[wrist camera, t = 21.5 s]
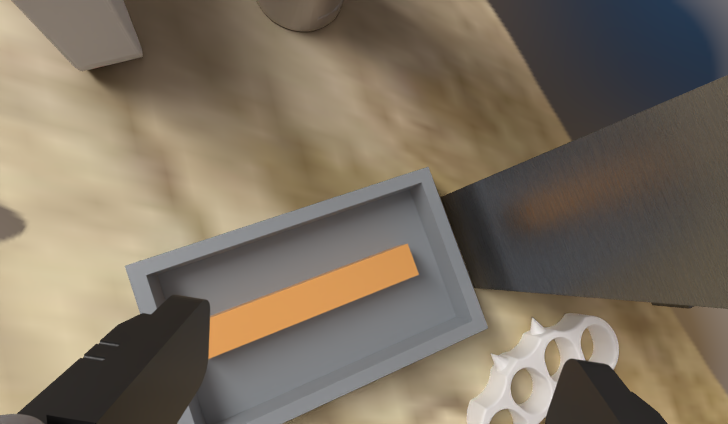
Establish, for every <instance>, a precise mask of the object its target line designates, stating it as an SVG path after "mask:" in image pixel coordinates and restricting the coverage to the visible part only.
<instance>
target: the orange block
mask: <svg viewBox="0 0 728 424" xmlns="http://www.w3.org/2000/svg"><path fill="white" fill-rule="evenodd" d="M417 275H419V273H418V270H417V268H416V265H415V262H414V259H413V257H412V254H411V251H410V248H409V246H408V244H403V245H398V246H395V247H393V248H390V249H387V250H385V251H382V252H379V253H377V254H374V255H371V256H369V257H366V258H363V259H361V260H358V261H355V262H353V263H350V264H347V265H345V266H342V267H339V268H337V269H334V270H331V271H329V272H326V273H323V274H321V275H318V276H315V277H313V278H310V279H307V280H305V281H302V282H299V283H297V284H294V285H291V286H289V287H286V288H283V289H281V290H278V291H275V292H273V293H270V294H267V295H265V296H262V297H259V298H257V299H254V300H251V301H249V302H246V303H243V304H241V305H238V306H235V307H233V308H230V309H227V310H225V311H222V312H219V313H217V314H214V315H211V316H210V332H209V357H208V359H210V358H212V357H215V356H217V355H220V354H222V353H225V352H227V351H230V350H232V349H235V348H237V347H240V346H242V345H245V344H247V343H250V342H252V341H255V340H257V339H260V338H262V337H265V336H267V335H270V334H272V333H275V332H277V331H280V330H282V329H285V328H287V327H290V326H292V325H295V324H297V323H300V322H302V321H304V320H307V319H309V318H312V317H314V316H317V315H319V314H322V313H324V312H327V311H329V310H332V309H334V308H337V307H339V306H342V305H344V304H347V303H349V302H352V301H354V300H357V299H359V298H362V297H364V296H367V295H369V294H372V293H374V292H377V291H379V290H382V289H384V288H387V287H389V286H392V285H394V284H397V283H399V282H402V281H404V280H407V279H409V278H412V277H414V276H417Z"/></svg>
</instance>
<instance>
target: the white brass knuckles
mask: <svg viewBox="0 0 728 424" xmlns="http://www.w3.org/2000/svg"><path fill="white" fill-rule="evenodd" d="M586 328H588V330H589V332H590V335H591V337H592V340H593V346H594V348H593V353H592V356H591V357H590V359H589V360H588V361H591V362H597V363H604V364H607V365H609V366H610V367H611V368H612V369H613V370H614V368H615V366H616V363H617V360H618V356H619V345H618V340H617V337H616V334H615V332H614V330H613V329H612V327H611V326H610V325H609V324H608V323H607V322H606V321H604V320H603V319H601V318H599V317H596V316H591V315H584V314H577V313H567V314H564V316H563V318H562V319H561V320H560V321H559V322H558V323H557V324H555V325H553V326H550V327H543V326H542V325H541V324H539V323H538V322H537V321H536V320H535V319H534V318H533V317H532V321H531V329H530V330H529V331H527V332H525V333H523V335H522V337H521V340H520V341H519V343H518V344H517V345H516V346H515V347H514V348H513V349H511V350H510V351H508V352H504V353H501V354H500V355H495V354H491V356H492V359H493V362H494V365H493V366H492V368H491V369H490V377H489V381H488V383H487V385H486V387H485V389H484V390H483V391H482V392H481V393H480V394H479V395H478V396H476V397H475V398H473V399H471V400H470V403H469V405H468V409H467V424H490V421H491V419H492V417H493V416H494V415H495V414H496V413H497V412H498V411H500V410H503V409H508V410H509V412H510V413H511V415H512V418H513V424H539V423H540V422H541V421H542V420H543V419H544V418H545V417H546V415H547V411H548V408H549V406H550V403H551V400H552V397H553V394H554V391H555V388H556V385H557V382H558V379H559V376H560V373H561V370H562V368H563V365H564V363H565V362H566V361H567V360H568V359H578V360H585V358H584V355H583V352H582V349H581V336H582V333H583V332H584V330H585V329H586ZM553 339H554V340H555V342H556V344H557V347H558V350H559V353H560V358H561V360H560V366H559V368H558V370H557V371H556V373H555V374H553V375H552V376H550V375H549V373H548V370H547V367H546V364H545V359H544V354H545V349H546V347H547V345H548V343H549V342H550V341H551V340H553ZM585 361H586V360H585ZM523 368H525V369H526V370H527V371H528V372H529V374H530V375H531V377H532V381H533V389H532V393H531V395H530V397H529V398H528V399H527V400H526V401H525V402H523V403H521V404H516V403H515V401H514V400H513V398H512V395H511V382H512V379H513V377H514V375H515V374H516V373H517V372H518V371H519V370H520V369H523Z"/></svg>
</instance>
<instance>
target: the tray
mask: <svg viewBox="0 0 728 424" xmlns="http://www.w3.org/2000/svg"><path fill="white" fill-rule="evenodd" d="M403 244H408V246H409V248H410V251H411V254H412V257H413V259H414V262H415V265H416V268H417V270H418V273H419V275H417V276H414V277H412V278H409V279H407V280H404V281H402V282H399V283H397V284H394V285H392V286H389V287H387V288H384V289H382V290H379V291H377V292H374V293H372V294H369V295H367V296H364V297H362V298H359V299H357V300H354V301H352V302H349V303H347V304H344V305H342V306H339V307H337V308H334V309H332V310H329V311H327V312H324V313H322V314H319V315H317V316H314V317H312V318H309V319H307V320H304V321H302V322H300V323H297V324H295V325H292V326H290V327H287V328H285V329H282V330H280V331H277V332H275V333H272V334H270V335H267V336H265V337H262V338H260V339H257V340H255V341H252V342H250V343H247V344H245V345H242V346H240V347H237V348H235V349H232V350H230V351H227V352H225V353H222V354H220V355H217V356H215V357H212V358H210V359H208V365H207V370H206V373H205V376H204V379H203V382H202V384H201V386H200V388H199V389H198V391H197V393H196V394H195V396H194V397H193V399H192V401H191V402H190V404H189V405H188V407H187V409H186V410H185V412H184V413H183V415H182V417H181V418H180V420H179V421H178V423H177V424H282V423H284V422H287V421H289V420H291V419H293V418H295V417H297V416H300V415H302V414H304V413H306V412H308V411H310V410H313V409H315V408H317V407H319V406H321V405H323V404H325V403H328V402H330V401H332V400H334V399H336V398H338V397H341V396H343V395H345V394H347V393H349V392H351V391H354V390H356V389H358V388H360V387H362V386H364V385H367V384H369V383H371V382H373V381H375V380H377V379H379V378H382V377H384V376H386V375H388V374H390V373H392V372H395V371H397V370H399V369H401V368H403V367H405V366H408V365H410V364H412V363H414V362H416V361H418V360H421V359H423V358H425V357H427V356H429V355H431V354H433V353H436V352H438V351H440V350H442V349H444V348H446V347H449V346H451V345H453V344H455V343H457V342H459V341H462V340H464V339H466V338H468V337H470V336H472V335H475V334H477V333H479V332H481V331H483V330H485V329H487V328H488V326H487V323H486V321H485V318H484V315H483V313H482V310H481V307H480V305H479V302H478V299H477V297H476V294H475V291H474V288H473V286H472V283H471V280H470V278H469V275H468V272H467V270H466V267H465V264H464V262H463V259H462V256H461V253H460V251H459V248H458V245H457V243H456V240H455V237H454V235H453V232H452V229H451V227H450V224H449V221H448V219H447V216H446V213H445V210H444V208H443V205H442V202H441V200H440V197H439V194H438V192H437V189H436V186H435V184H434V181H433V178H432V175H431V173H430V170H429V167H426V168H423V169H420V170H417V171H414V172H411V173H408V174H405V175H402V176H398V177H395V178H392V179H389V180H386V181H383V182H380V183H377V184H374V185H371V186H368V187H365V188H362V189H359V190H356V191H353V192H350V193H346V194H343V195H340V196H337V197H334V198H331V199H328V200H325V201H322V202H319V203H316V204H313V205H310V206H307V207H304V208H301V209H298V210H295V211H291V212H288V213H285V214H282V215H279V216H276V217H273V218H270V219H267V220H264V221H261V222H258V223H255V224H252V225H249V226H246V227H243V228H239V229H236V230H233V231H230V232H227V233H224V234H221V235H218V236H215V237H212V238H209V239H206V240H203V241H200V242H197V243H194V244H191V245H188V246H184V247H181V248H178V249H175V250H172V251H169V252H166V253H163V254H160V255H157V256H154V257H151V258H148V259H145V260H142V261H139V262H136V263H133V264H129V265H126V266H125V268H126V271H127V274H128V277H129V280H130V283H131V286H132V289H133V292H134V296H135V299H136V302H137V305H138V308H139V311H140V314H142V313H146V314H152V313H153V312H154V311H155V310H156V309H157V308H158V307H159V306H160V305H161V304H162V303H164V302H165V301H166V300H167V299H168V298H169V297H170V296H171V295H181V296H187V297H194V298H200V299H206V300H208V301H209V303H210V316H211V315H214V314H217V313H219V312H222V311H225V310H227V309H230V308H233V307H235V306H238V305H241V304H243V303H246V302H249V301H251V300H254V299H257V298H259V297H262V296H265V295H267V294H270V293H273V292H275V291H278V290H281V289H283V288H286V287H289V286H291V285H294V284H297V283H299V282H302V281H305V280H307V279H310V278H313V277H315V276H318V275H321V274H323V273H326V272H329V271H331V270H334V269H337V268H339V267H342V266H345V265H347V264H350V263H353V262H355V261H358V260H361V259H363V258H366V257H369V256H371V255H374V254H377V253H379V252H382V251H385V250H387V249H390V248H393V247H395V246H398V245H403Z"/></svg>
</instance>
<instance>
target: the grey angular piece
mask: <svg viewBox="0 0 728 424" xmlns="http://www.w3.org/2000/svg"><path fill="white" fill-rule="evenodd" d="M12 2H13V3H14V4H15V5H16V6H17V7H18V8H19V9H20V10H21V11H22V12H23V13H24V14H25V15H26V16H27V17H28V18H29V20H30V21H31V22H32V23H33V24H34V25H35V26H36V27H37V28H38V29H39V30H40V31H41V32H42V33H43V34H44V35H45V36H46V38H47V39H48V40H49V41H50V42H51V43H52V44H53V45H54V46H55V47H56V48H57V49H58V50H59V51H60V52H61V53H62V54H63V55H64V57H65V58H66V59H67V60H68V61H69V62H70V63H71V64H72V65H73V66H74V67H75V68H77V69H78V70H80V71H86V70H90V69H94V68H98V67H102V66H107V65H111V64H115V63H119V62H123V61H127V60H132V59H136V58H140V57H142V56H143V53H142V48H141V45H140V42H139V40H138V37H137V34H136V32H135V29H134V26H133V24H132V21H131V19H130V16H129V13H128V11H127V8H126V5H125V3H124V0H12Z"/></svg>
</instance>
